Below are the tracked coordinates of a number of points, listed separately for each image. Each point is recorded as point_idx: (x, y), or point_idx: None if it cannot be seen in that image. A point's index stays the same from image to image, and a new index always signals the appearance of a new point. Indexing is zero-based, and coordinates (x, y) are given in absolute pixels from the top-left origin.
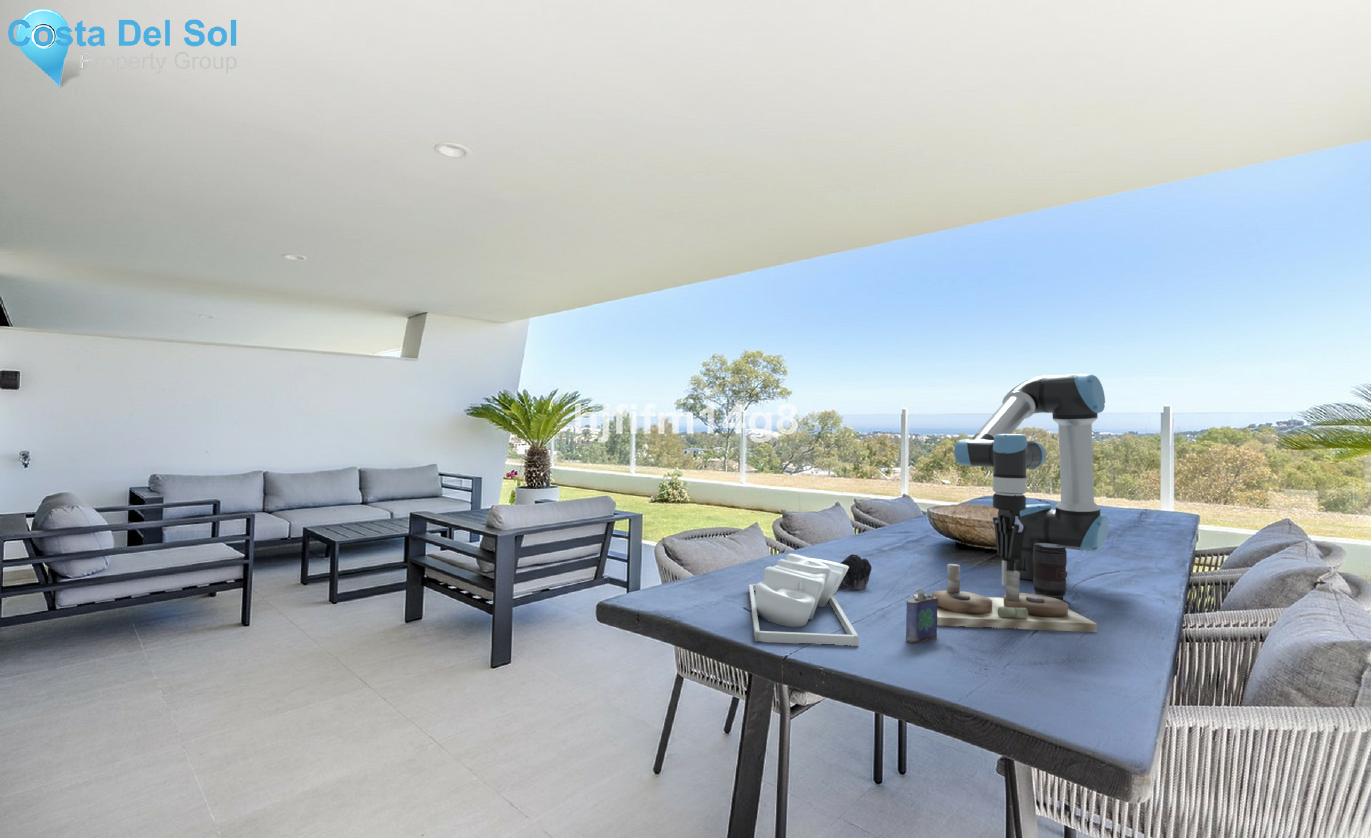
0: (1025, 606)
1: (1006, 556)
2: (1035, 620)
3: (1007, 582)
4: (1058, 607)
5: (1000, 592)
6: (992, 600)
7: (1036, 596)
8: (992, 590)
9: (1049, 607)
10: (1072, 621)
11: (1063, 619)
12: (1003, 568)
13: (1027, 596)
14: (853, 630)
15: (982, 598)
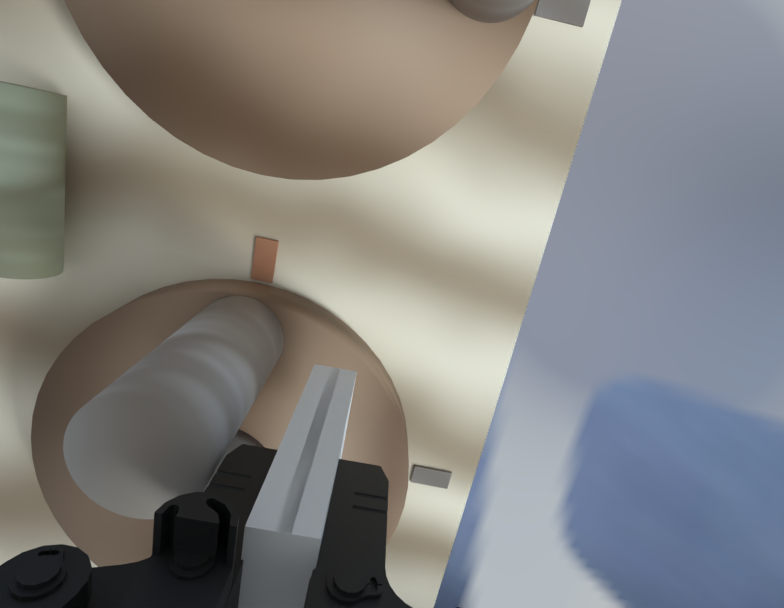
0: (91, 326)
1: (156, 589)
2: (6, 291)
3: (176, 343)
4: (69, 505)
5: (726, 539)
6: (442, 305)
7: None
8: (776, 523)
9: (63, 455)
10: (16, 481)
11: None
12: (295, 454)
13: None
14: None
15: (273, 116)
